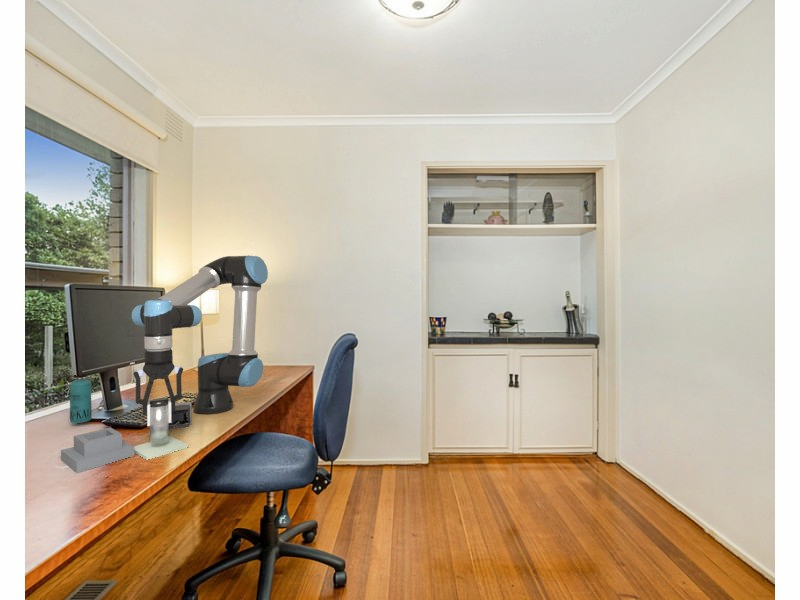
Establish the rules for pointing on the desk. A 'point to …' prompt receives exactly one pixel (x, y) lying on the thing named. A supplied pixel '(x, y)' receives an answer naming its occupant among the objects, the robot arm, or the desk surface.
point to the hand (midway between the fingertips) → (159, 423)
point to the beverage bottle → (80, 400)
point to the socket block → (96, 450)
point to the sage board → (159, 448)
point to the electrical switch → (181, 416)
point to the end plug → (159, 421)
